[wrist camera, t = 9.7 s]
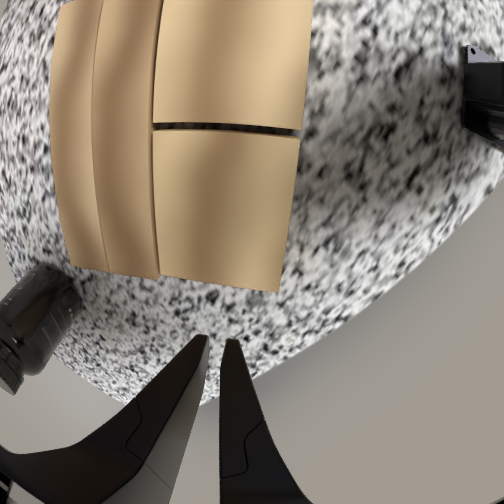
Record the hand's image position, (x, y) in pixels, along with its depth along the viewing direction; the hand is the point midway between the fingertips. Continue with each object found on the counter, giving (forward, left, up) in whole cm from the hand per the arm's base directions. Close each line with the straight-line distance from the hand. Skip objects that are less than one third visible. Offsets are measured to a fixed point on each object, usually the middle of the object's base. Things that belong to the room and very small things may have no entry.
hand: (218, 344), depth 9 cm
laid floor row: (+10, -6, -10) cm, 15 cm away
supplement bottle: (+18, +8, -10) cm, 23 cm away
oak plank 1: (+1, -11, -10) cm, 15 cm away
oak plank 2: (+1, -1, -10) cm, 10 cm away
